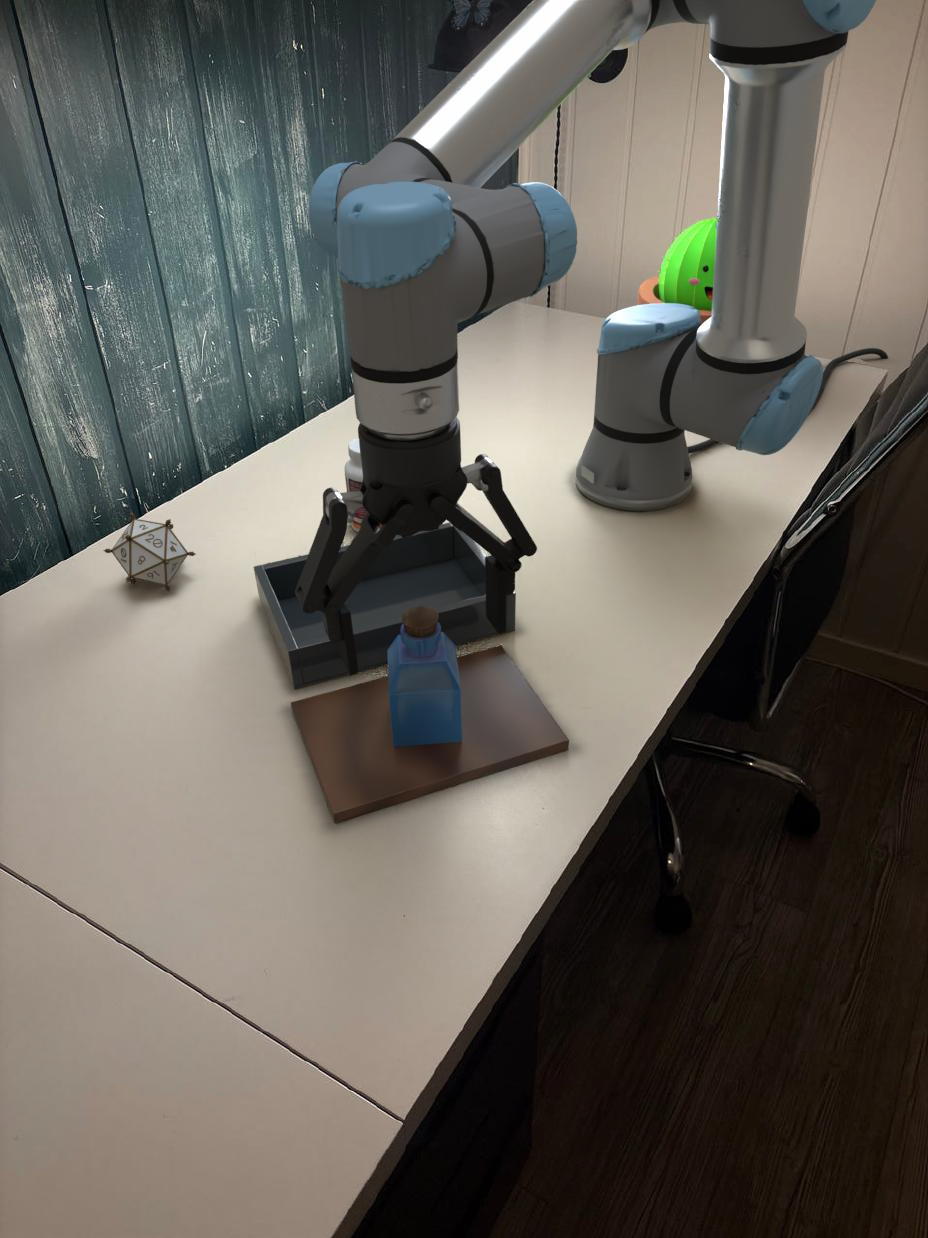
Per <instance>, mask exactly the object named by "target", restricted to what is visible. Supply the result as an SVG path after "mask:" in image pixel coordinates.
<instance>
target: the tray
mask: <svg viewBox="0 0 928 1238" xmlns="http://www.w3.org/2000/svg"><path fill="white" fill-rule="evenodd" d="M349 545H350V544H347V545H342V546H341V548H340V551H339V553H338V556H337V558H336V561H335V564H334V566H333V568H334V567H335V565H336V564H337V562H338V561H339V559H340V558H341V556H342V555H343V553H344V552H345V551H346V549H347V548H348V546H349ZM308 554H309V553H307V554H302V555H299V556H293V557H291V558H290V557H289V558H286V559H285V558H284V559H281V560H276V561H272V562H267V563H263V564H259V565H258V564H257V565H254V566H253V574H254V578H255V583H256V588H257V589H256V590H257V594H258V599H259V604H260V607H261V609H262V611H263V614H264V616H265V618H266V621H267V624H268V626H269V629H270V632H271V634H272V637H273V639H274V642H275V644H276V646H277V649H278V652H279V654H280V656H281V659H282V661H283V664H284V667H285V669H286V672H287V675H288V677H289V679H290V682H291V684H292V687H293V690H299V689H302V688H306V687H309V686H314V685H317V684H321V683H325V682H328V681H332V680H335V679H339V678H343V677H347V676H350V675H349V673H348V670H347V668H346V666H345V664H344V662H343V660H342V658H341V653H340V646H339V642H335V643H332V642H331V641H330V640H329V638H328V636H327V633H326V631H325V629H324V622H323V616H322V611H315V612H313V613H311V614H307V613H305V612H304V611H303V609H302V607H301V605H300V603H299V600H298V598H297V596H296V594H295V590H296V587H297V584H298V581H299V579H300V576H301V573H302V571H303V568H304V565H305V563H306V560H307V557H308ZM487 556H488V555H487V554H485V553H484V551H483V550H482V549H481V546H480V545H478V544H477V543H476V542H475V541H474V540H472V539H471V538H470V537H469V536H467V535H466V534H465V533H464V532H462V531H460V530H458V529H457V528H456V527H455V526H454V525H452V524H451V523H450V522H449V521H448V522H446V523H445V522H444V523H443V524H441V525H440V526H439V529H437V530H433V531H420V532H418V533H416V534H414V535H412V536H408V537H404V538H402V537H401V536H400V535H396V536H395V538H394V539H393V540H392V542H391V543H390V545H389V546H388V547H387V549H383V550H381V552H380V553H379V554H378V556H377V557H376V559H375V560H374V562H373V563H372V564H371V566H370V567H369V569H368V570H367V572H366V573H365V574H364V576H363V577H362V579H361V580H360V582H359V583H358V585H357V586H356V587H355V589H354V590H353V592H352V593H351V595H350V596H349V597H348V599H347V600H346V604H347V606H348V608H349V610H350V612H351V619H352V627H353V635H354V642H355V650H356V657H357V665H358V672H359V673H361V672H366V671H369V670H373V669H377V668H380V667H384V666H388V655H387V650H388V648H389V647H390V646H391V644H392V643H393V641H394V640H395V639H396V637H397V636H398V635H401V626H402V624H403V622H402V619H401V617H402V614H403V613H404V612H405V611H406V610H407V609H409V608H412V607H416V606H426V607H430V608H432V609H434V610H435V611H436V612H437V613H438V615H439V617H438V622H439V624H440V626H441V632H443V633H444V634H445V635H446V636H447V637H448V638H449V639H450V640H451V641H452V643H453V644H454V645H455V647H458V646H462V645H465V644H470V643H474V642H477V641H481V640H485V639H488V638H493V637H496V636H500V635H504V634H507V633H511V632H515V631H516V610H517V609H516V605H517V602H516V601H517V599H516V598H517V593H516V592H515V591H516V590H514V593H513V594H511V595H508V596H506V632H503V633H500V634H498V633H497V631H496V630H495V628H494V627H493V626H492V624H491V623H490V621H489V620H488V619H487V617H486V580H485V557H487ZM332 570H333V569H332Z"/></svg>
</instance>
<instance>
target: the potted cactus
mask: <svg viewBox="0 0 928 1238" xmlns="http://www.w3.org/2000/svg"><path fill="white" fill-rule="evenodd" d="M695 221H696V222H695ZM695 221H693V224H692V225H690V226H688V227H687V229H686V228H685V226H684V227H682V229H683V230H682V229H681V230H680V229H678V230H679V231H680V233H681V234H679V235H678V237H676V236H673V239H674V241H673V242H672V244H671V245H670V246H669V245H666V247H667V248H668V250H667V252H666V253H665V256H664V255H663V254H661V258H662V263H661V267H660V271H659V274H658V271H655V273H657V274H658V275H656V276H653V277H650V278H648V279H646V280H645V281H643V282H642V283H641V284H640V286H639V287H638V288H639V289H638V291H637V292H638V294H637V304H636V306H637V305H644V304H653V303H676V304H684V305H689V306H692V307H694V308H695V309H697V310H698V311H699V312H700V318H701V319H702V321H701V324H700V326H701V325H702V324H703V323H704V322H705V321H707V320H708V319H709V318H710V317H712V299H713V282H714V265H715V248H716V231H717V215H715V217H712V218H707V219H701V220H695Z"/></svg>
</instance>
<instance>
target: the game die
mask: <svg viewBox="0 0 928 1238" xmlns="http://www.w3.org/2000/svg"><path fill="white" fill-rule="evenodd" d="M129 517H130V519H132V520H131V522H130V523H129V524H128V526H127V527H126V528H125V530H124V531H123V533H122V534H121V536H120V537H119V539H118V540H117V541H116V543H115V545H114V546H113V547H112V549H110V548H106V549H103V550H102V551H103V552H104V553H106V554H111V553H112V555H113V556H114V558H115V559H116V560H117V562H118V563H119V565H120V566H121V567H122V569H123V570H124V571H125V573H126V574H127V576H126V578H125V583H130V585H135V584H136V581H140V582H145V583H149V584H154V585H160V586H164V587H165V591H166V592H168V593H171V587H170V585H169V584H170V583H171V580H172V579H173V577H174V576H175V575H176V573H177V572H178V570H179V569H180V567H181V566H182V564H183V563H184V562H185V560H186V559H187V557H188V556H190V557H193V556H195V555H197V553H195V552H194V551H188V550H187V549H186V548H185V546H184V545H183V543H182V542H181V540H180V539H179V538H178V537H177V535H176V534H175V533H174V531H173V529H174V523H172V521H171V518H170V519H165V520H166V521H165V522H164V523H162V522H156V521H151V520H145V519H139V518H136V515H135V513H133V512H131V511H130V512H129Z"/></svg>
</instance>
